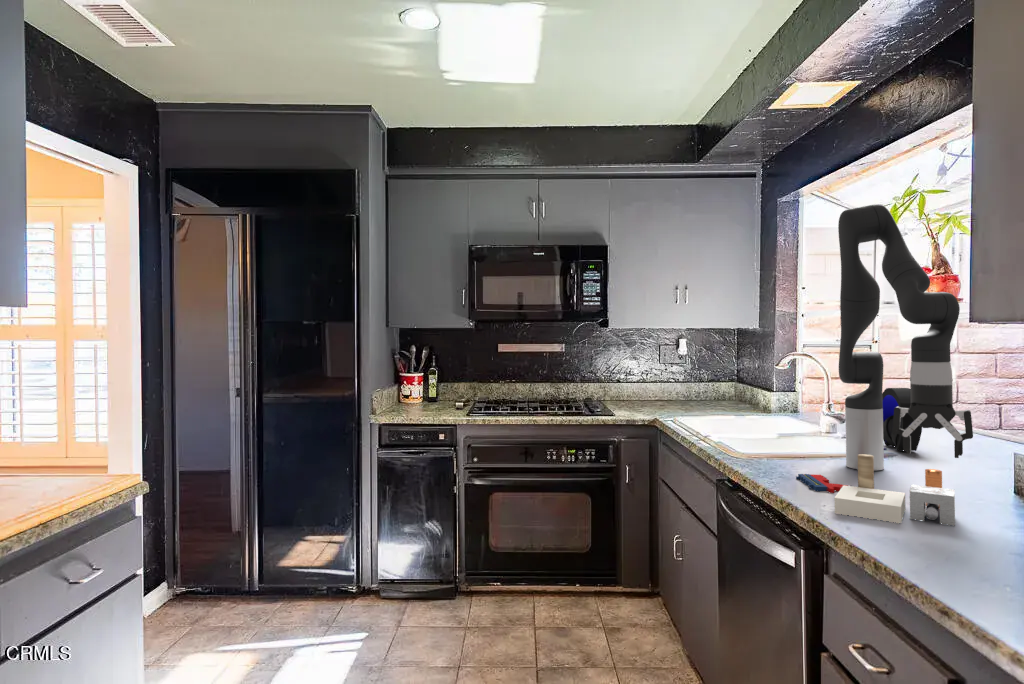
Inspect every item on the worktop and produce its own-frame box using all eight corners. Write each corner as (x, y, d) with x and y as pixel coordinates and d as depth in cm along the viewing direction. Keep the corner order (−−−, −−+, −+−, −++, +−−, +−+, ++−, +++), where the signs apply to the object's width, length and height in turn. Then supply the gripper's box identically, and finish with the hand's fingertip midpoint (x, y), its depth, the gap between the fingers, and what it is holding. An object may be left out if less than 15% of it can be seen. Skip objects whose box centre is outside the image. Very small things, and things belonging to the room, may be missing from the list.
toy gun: (834, 479, 154) (794, 478, 155) (834, 474, 154) (794, 473, 155) (857, 495, 139) (813, 494, 141) (857, 489, 139) (813, 487, 141)
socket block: (843, 500, 134) (843, 485, 134) (905, 508, 127) (905, 492, 127) (834, 513, 125) (834, 497, 125) (901, 523, 117) (900, 506, 117)
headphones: (925, 455, 177) (924, 391, 176) (901, 455, 178) (900, 391, 178) (898, 443, 195) (898, 385, 194) (877, 443, 196) (876, 385, 196)
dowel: (859, 494, 138) (858, 453, 138) (874, 497, 136) (874, 455, 136) (857, 498, 135) (856, 456, 135) (873, 500, 133) (872, 457, 133)
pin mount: (954, 518, 120) (954, 489, 120) (954, 526, 115) (954, 496, 115) (911, 512, 124) (911, 484, 124) (910, 519, 120) (909, 491, 120)
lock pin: (942, 505, 127) (942, 470, 127) (940, 525, 115) (940, 485, 115) (926, 503, 129) (925, 468, 129) (922, 522, 117) (921, 483, 117)
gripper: (972, 382, 125) (973, 456, 125) (894, 380, 134) (895, 449, 134) (972, 384, 119) (973, 462, 119) (890, 382, 128) (892, 454, 128)
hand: (932, 455), depth 127 cm, fingers open, 8 cm apart
